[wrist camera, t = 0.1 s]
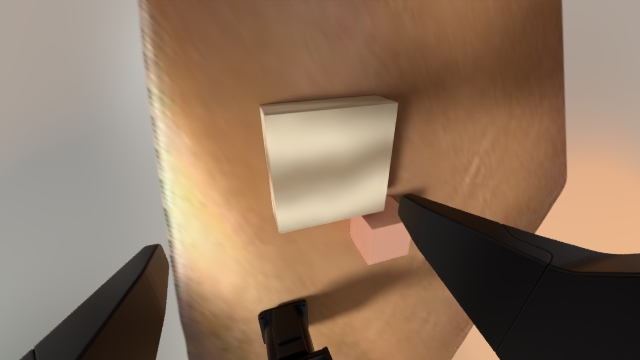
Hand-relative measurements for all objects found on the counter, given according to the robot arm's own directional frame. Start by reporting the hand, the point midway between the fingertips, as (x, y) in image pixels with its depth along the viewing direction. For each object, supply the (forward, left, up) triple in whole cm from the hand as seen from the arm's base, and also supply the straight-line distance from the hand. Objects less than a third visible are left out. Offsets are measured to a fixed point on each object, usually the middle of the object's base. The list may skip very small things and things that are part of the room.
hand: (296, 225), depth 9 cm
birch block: (-4, -6, -15) cm, 17 cm away
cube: (-13, -12, -15) cm, 23 cm away
